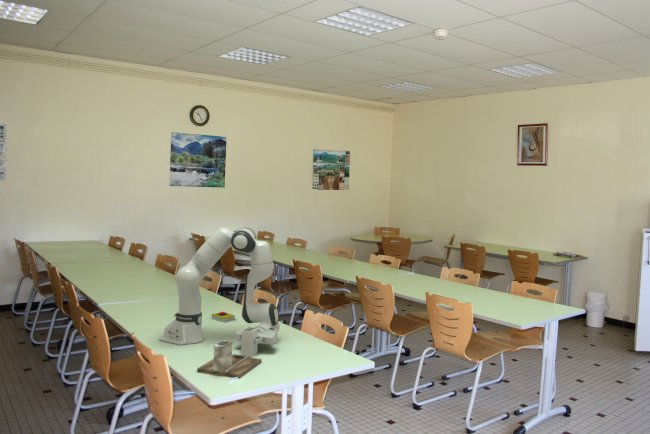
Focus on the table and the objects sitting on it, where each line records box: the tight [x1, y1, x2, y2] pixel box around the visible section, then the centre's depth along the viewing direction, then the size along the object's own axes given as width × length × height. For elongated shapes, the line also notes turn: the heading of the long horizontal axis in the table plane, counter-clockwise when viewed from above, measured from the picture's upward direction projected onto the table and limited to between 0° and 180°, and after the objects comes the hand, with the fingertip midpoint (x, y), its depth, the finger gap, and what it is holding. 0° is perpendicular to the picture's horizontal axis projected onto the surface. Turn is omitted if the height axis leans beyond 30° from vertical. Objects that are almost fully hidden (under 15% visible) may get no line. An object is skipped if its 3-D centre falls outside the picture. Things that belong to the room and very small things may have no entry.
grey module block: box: [240, 326, 258, 358], centre depth 255 cm, size 5×7×12 cm
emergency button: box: [210, 311, 238, 324], centre depth 319 cm, size 9×4×15 cm
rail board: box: [196, 340, 263, 379], centre depth 237 cm, size 20×22×13 cm
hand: (248, 341), depth 254 cm, fingers closed on grey module block, 5 cm apart
